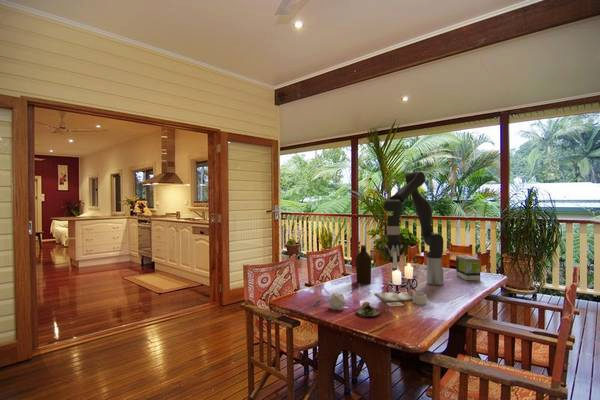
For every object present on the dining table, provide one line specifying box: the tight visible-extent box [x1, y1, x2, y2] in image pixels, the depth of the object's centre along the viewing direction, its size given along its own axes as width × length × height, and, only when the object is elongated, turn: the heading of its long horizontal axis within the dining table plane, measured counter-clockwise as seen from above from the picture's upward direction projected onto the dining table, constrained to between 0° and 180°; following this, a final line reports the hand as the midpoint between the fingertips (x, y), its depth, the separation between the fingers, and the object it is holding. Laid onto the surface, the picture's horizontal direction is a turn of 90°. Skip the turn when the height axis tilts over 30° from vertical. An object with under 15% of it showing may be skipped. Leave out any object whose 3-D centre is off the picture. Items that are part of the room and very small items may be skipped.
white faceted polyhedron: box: [328, 292, 347, 311], centre depth 169 cm, size 8×9×10 cm
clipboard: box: [374, 291, 413, 304], centre depth 186 cm, size 20×16×1 cm
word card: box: [385, 302, 405, 307], centre depth 174 cm, size 5×8×1 cm, turn 99°
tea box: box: [455, 254, 481, 281], centre depth 226 cm, size 15×10×15 cm, turn 179°
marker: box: [391, 248, 398, 272], centre depth 193 cm, size 3×3×14 cm
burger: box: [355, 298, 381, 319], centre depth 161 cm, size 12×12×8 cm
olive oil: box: [355, 244, 372, 285], centre depth 219 cm, size 11×11×25 cm
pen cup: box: [412, 292, 427, 306], centre depth 176 cm, size 6×6×4 cm
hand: (394, 262), depth 193 cm, fingers closed on marker, 3 cm apart
